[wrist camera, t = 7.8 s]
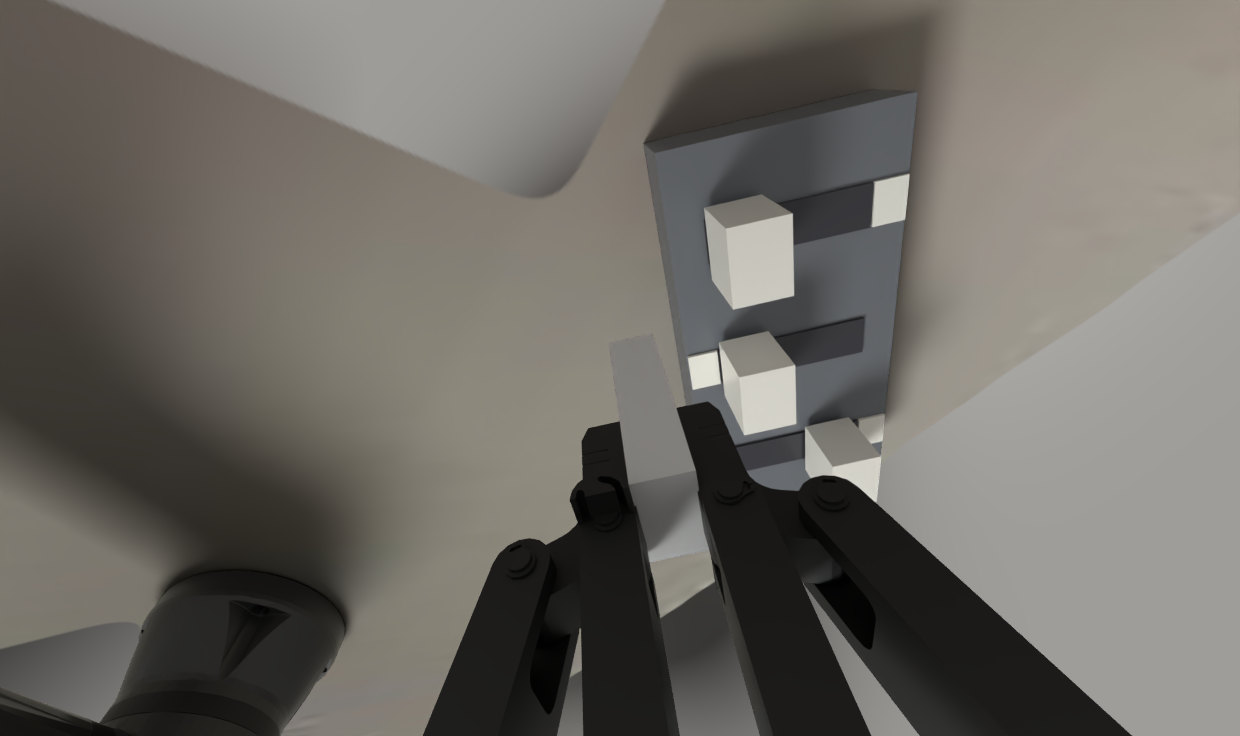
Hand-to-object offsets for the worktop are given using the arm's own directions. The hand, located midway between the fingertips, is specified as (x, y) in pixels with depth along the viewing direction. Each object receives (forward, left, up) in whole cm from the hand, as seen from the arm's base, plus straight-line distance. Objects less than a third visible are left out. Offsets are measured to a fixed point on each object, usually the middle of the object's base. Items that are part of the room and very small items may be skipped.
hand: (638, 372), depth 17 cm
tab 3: (+12, -16, -11) cm, 23 cm away
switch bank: (+10, -8, -16) cm, 20 cm away
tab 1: (+7, 0, -11) cm, 13 cm away
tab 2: (+7, -8, -11) cm, 15 cm away
